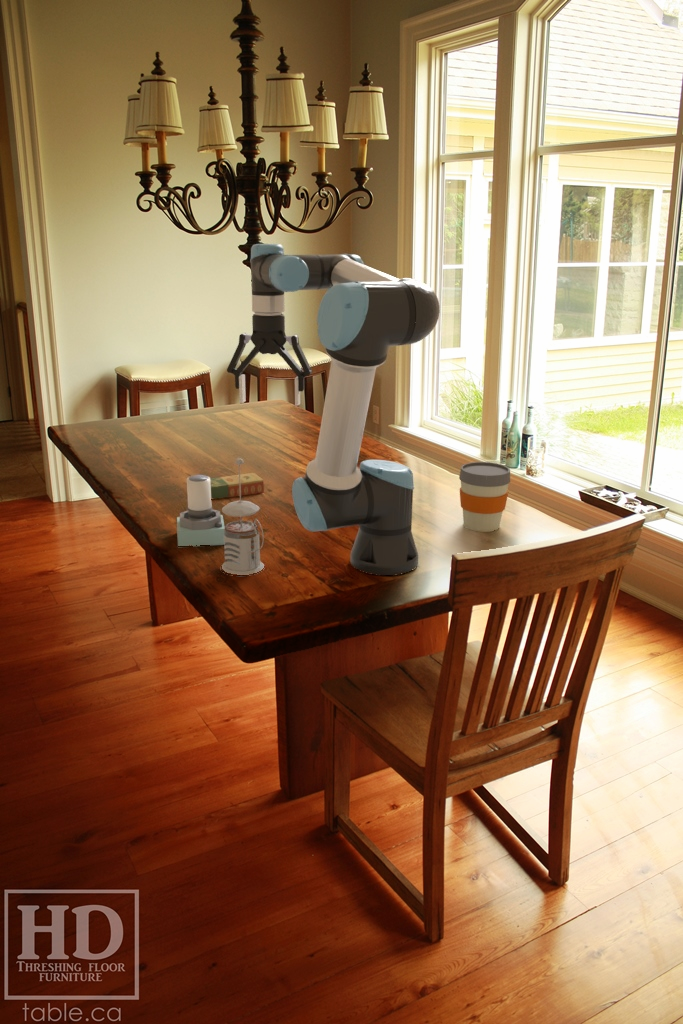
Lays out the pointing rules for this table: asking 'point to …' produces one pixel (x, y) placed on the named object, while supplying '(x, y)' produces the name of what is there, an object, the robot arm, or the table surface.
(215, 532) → the body block
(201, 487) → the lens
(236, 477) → the carton
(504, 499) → the reusable coffee cup
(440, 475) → the table surface
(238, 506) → the french press
